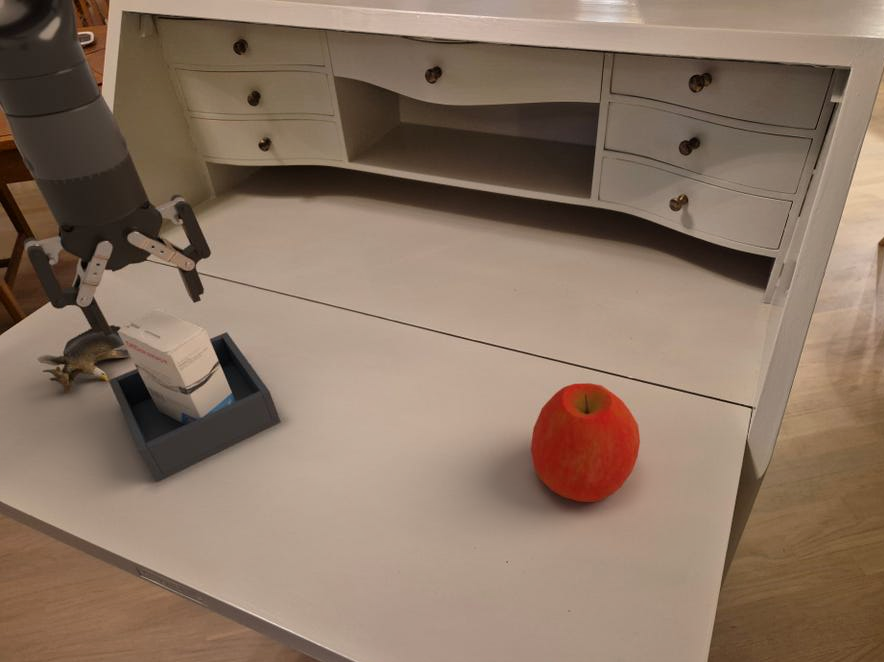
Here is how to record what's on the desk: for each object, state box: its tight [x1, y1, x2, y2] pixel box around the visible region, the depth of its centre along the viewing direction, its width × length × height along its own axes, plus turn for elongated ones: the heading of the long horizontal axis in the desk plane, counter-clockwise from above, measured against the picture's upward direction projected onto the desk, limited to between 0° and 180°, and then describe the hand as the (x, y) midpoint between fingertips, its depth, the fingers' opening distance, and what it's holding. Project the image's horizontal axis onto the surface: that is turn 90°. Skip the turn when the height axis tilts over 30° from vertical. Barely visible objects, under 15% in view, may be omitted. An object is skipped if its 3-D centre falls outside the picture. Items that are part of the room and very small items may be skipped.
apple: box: [530, 382, 641, 503], centre depth 60 cm, size 10×10×10 cm
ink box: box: [117, 307, 236, 425], centre depth 68 cm, size 8×5×12 cm, turn 59°
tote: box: [108, 331, 282, 483], centre depth 71 cm, size 14×14×5 cm
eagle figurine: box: [36, 324, 130, 394], centre depth 78 cm, size 8×7×9 cm
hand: (152, 314), depth 63 cm, fingers open, 8 cm apart
